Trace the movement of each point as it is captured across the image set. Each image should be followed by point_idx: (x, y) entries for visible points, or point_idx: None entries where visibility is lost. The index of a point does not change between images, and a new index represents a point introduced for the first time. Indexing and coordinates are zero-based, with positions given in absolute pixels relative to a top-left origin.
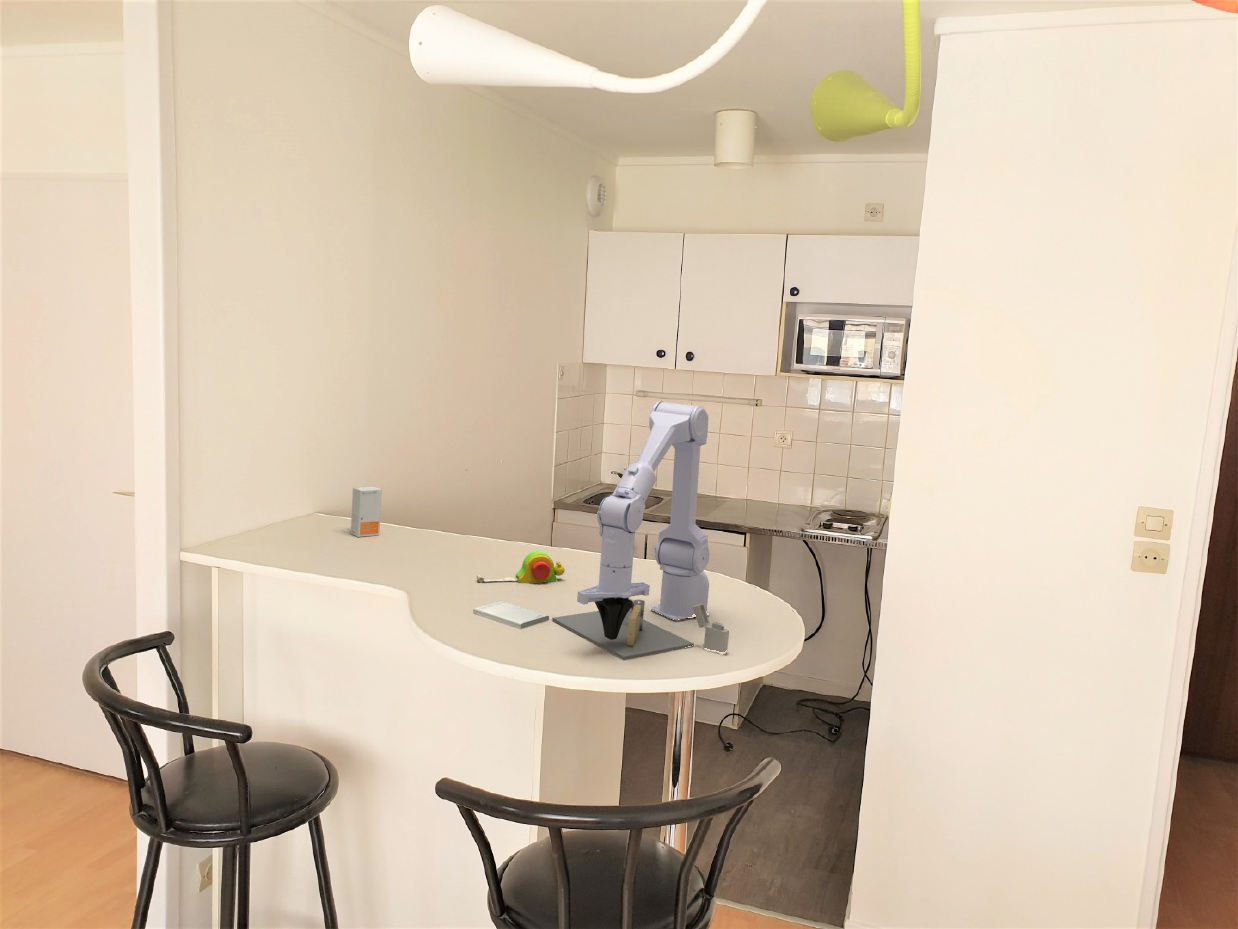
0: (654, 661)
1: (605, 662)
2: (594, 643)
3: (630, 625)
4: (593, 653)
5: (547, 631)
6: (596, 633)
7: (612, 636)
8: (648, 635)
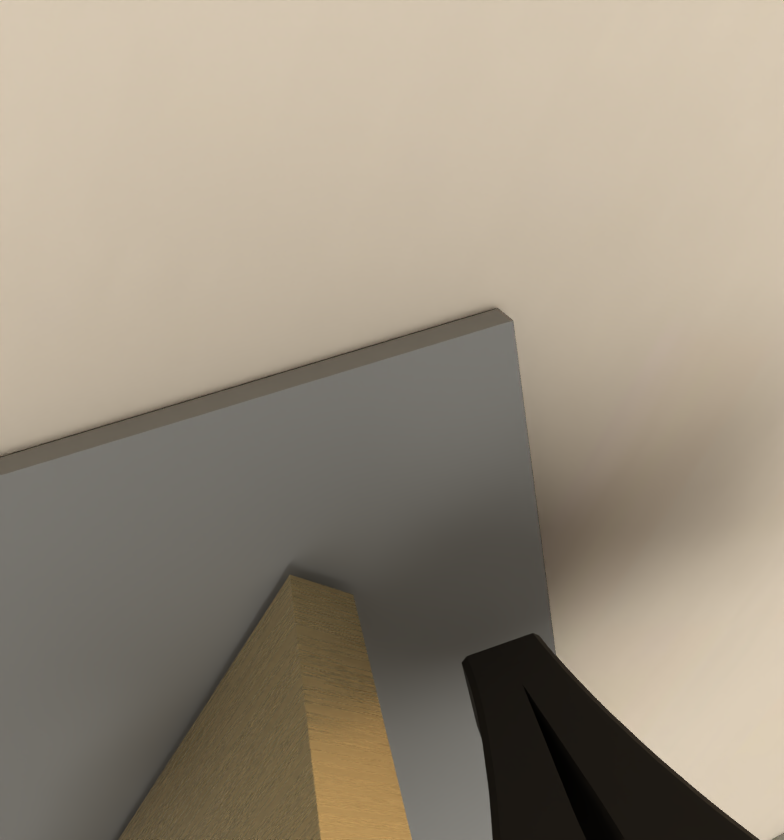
0: (126, 208)
1: (699, 279)
2: None
3: (380, 811)
4: (663, 500)
5: None
6: (469, 810)
7: (548, 657)
8: (10, 828)
